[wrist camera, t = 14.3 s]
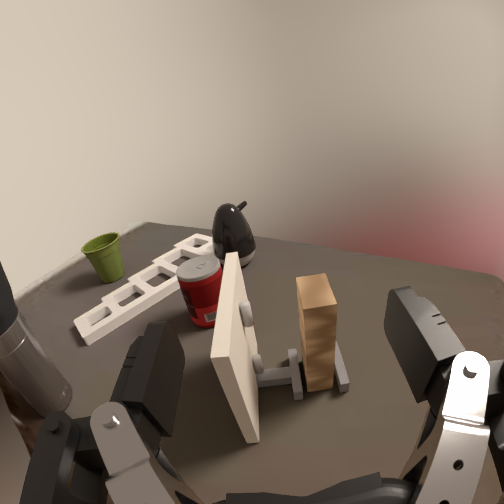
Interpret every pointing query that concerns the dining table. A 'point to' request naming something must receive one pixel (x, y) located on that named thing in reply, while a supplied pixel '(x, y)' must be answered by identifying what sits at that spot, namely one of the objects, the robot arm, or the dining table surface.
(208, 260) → the canned food
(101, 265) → the plant pot
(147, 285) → the holder
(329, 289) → the tall wooden block
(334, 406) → the dining table surface
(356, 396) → the dining table surface
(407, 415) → the dining table surface
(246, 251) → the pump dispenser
